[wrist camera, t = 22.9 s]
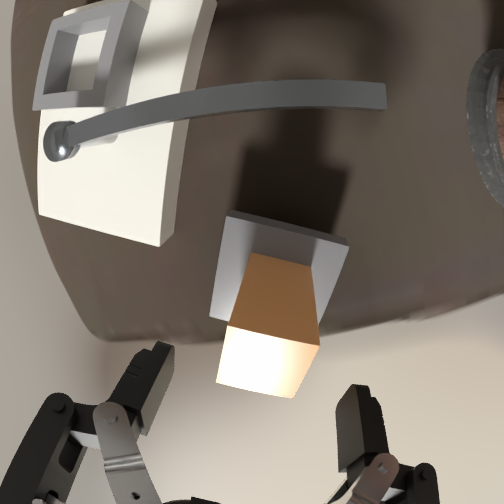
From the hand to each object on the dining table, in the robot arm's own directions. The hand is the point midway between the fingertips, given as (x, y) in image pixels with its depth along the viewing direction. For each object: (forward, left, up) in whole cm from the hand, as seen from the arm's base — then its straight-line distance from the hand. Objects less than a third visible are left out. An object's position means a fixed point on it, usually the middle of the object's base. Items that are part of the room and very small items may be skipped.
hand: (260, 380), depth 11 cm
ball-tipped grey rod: (-10, -6, -5) cm, 13 cm away
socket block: (-10, -16, -13) cm, 23 cm away
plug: (0, 0, -13) cm, 13 cm away
